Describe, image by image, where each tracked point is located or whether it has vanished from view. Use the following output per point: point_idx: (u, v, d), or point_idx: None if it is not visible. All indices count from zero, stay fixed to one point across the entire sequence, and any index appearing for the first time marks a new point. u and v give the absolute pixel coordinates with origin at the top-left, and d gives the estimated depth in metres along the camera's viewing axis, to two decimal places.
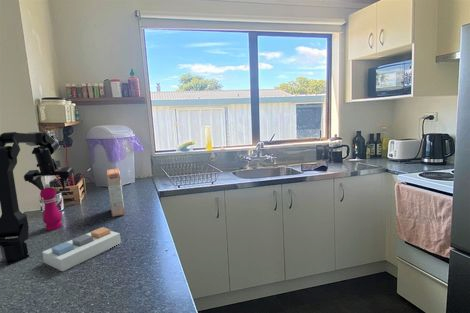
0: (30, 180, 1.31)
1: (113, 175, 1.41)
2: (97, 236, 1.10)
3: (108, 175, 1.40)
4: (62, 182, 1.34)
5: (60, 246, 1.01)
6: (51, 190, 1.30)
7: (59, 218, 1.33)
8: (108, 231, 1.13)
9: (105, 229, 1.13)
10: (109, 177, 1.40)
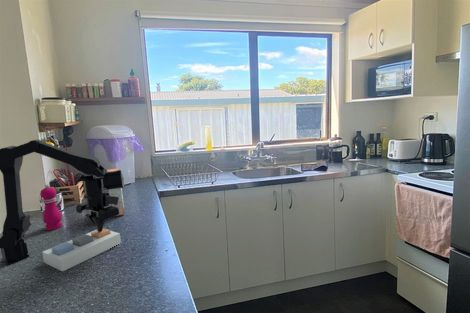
0: (79, 212, 1.13)
1: None
2: (97, 237, 1.10)
3: None
4: (94, 221, 1.09)
5: (60, 246, 1.01)
6: (51, 190, 1.30)
7: (59, 218, 1.33)
8: (108, 232, 1.13)
9: (105, 230, 1.14)
10: None
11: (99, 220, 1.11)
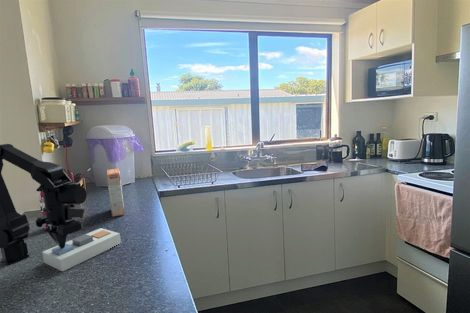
0: (39, 226, 1.01)
1: (113, 175, 1.41)
2: None
3: (108, 175, 1.40)
4: (55, 237, 0.98)
5: None
6: None
7: None
8: None
9: (105, 232, 1.14)
10: (109, 177, 1.40)
11: (60, 235, 0.99)
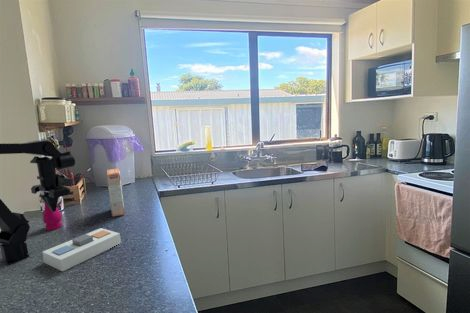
0: (34, 193, 1.19)
1: (113, 175, 1.41)
2: None
3: (108, 175, 1.40)
4: (47, 201, 1.15)
5: (61, 249, 1.02)
6: None
7: (59, 218, 1.33)
8: None
9: (105, 232, 1.14)
10: (109, 177, 1.40)
11: (52, 200, 1.17)
